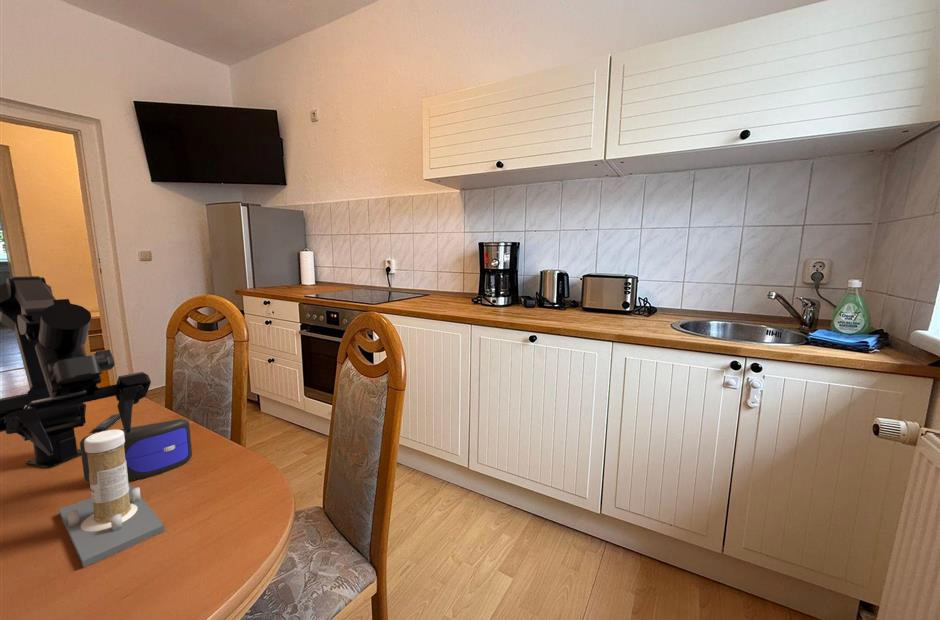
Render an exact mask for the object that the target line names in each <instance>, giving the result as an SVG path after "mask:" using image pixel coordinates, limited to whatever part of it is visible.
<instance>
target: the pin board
mask: <svg viewBox="0 0 940 620" xmlns="http://www.w3.org/2000/svg"><path fill="white" fill-rule="evenodd" d="M129 499H130V504H131V510H130V511H129V512H128V513H127V514H125V515H124V516H122V517H121V514H116V515H113V516H112V517H111V521H108V522H102V523H101V522H96V521H95V520H94V508H93V501H92V497H90V498H87V499H84V500H82V501H78V502H75V503H73V504H70V505H68V506H67V505H66V506H65V507H62V508H59V509H58V512H59V516H60V518H61V521H62V523H63V525H64V527H65V529H66V531H67V535H68V536H69V539H70V541H71V543H72V545H73V548H74V549H75V552H76V554H77V557H78V559H79V561H80V563H81V565H82V567H83V569H84V568H86V567H89V566H91V565H93V564H96V563H98V562H100V561H102V560H104V559H106V558H108V557H111V556H113V555H115V554H117V553H120V552H122V551H124V550H126V549H128V548H131V547H133V546H134V545H135V546H136V545H137V544H139V543H141V542H144V541H145V540H148V539H150V538H152V537H155V536H157V535H158V534H161V533H163V532H166V531H165V524H164V522H162V521H161V519H160V518H159V517H158V516H157V514H156V513H155V512H154V511H153V509H152V508H151V507H150V506H149V505H148V503H146V501H145V500H144V499H143V497H142V495H141V488H140V487H133V485H132V484H131V483H129Z"/></svg>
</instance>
